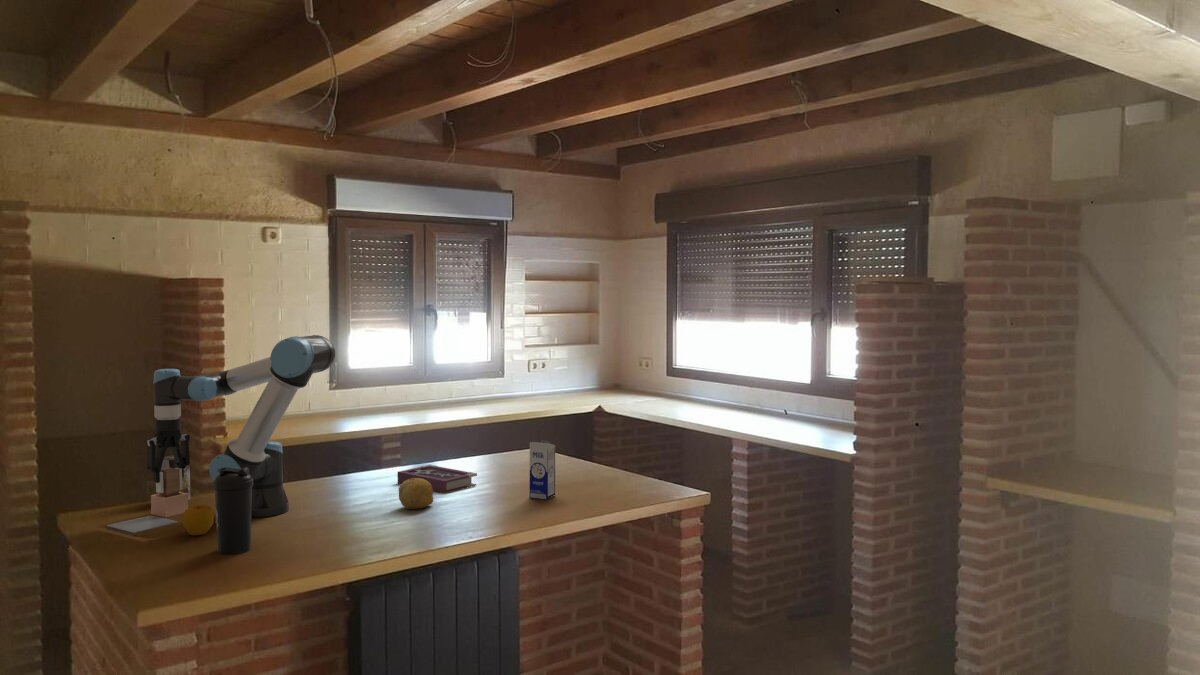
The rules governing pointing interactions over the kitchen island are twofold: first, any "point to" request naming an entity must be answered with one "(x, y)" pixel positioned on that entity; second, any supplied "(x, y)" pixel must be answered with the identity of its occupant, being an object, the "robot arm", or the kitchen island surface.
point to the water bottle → (233, 510)
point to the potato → (415, 493)
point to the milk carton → (542, 469)
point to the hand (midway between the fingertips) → (169, 490)
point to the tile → (141, 524)
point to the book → (439, 477)
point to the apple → (198, 519)
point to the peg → (170, 482)
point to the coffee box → (170, 463)
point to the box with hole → (169, 505)
